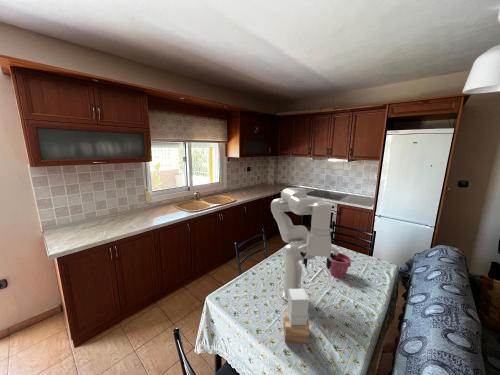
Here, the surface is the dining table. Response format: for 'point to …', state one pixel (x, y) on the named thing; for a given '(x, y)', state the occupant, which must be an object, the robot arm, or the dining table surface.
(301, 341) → the tower base
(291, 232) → the robot arm
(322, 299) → the dining table surface
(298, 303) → the supplement box
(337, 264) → the plant pot
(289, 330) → the tower top
